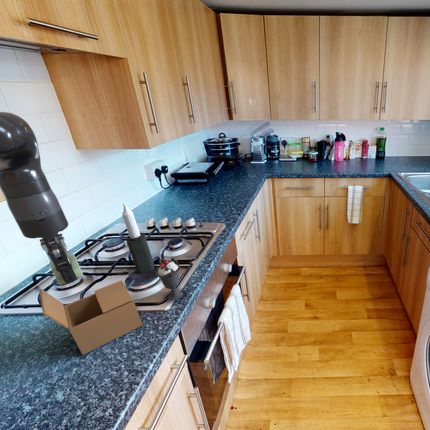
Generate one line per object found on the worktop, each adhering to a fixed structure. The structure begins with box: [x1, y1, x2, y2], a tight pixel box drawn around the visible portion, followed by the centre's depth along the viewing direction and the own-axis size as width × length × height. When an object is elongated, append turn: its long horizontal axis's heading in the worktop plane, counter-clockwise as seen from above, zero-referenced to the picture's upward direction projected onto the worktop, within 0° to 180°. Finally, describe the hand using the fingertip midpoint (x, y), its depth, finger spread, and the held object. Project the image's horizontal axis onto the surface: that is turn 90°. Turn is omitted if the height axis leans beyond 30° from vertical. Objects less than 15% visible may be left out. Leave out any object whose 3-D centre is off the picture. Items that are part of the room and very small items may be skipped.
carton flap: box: [39, 288, 69, 329], centre depth 66 cm, size 6×11×1 cm
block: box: [49, 253, 85, 286], centre depth 68 cm, size 4×4×4 cm
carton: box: [63, 279, 144, 356], centre depth 74 cm, size 13×11×9 cm
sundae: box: [154, 257, 184, 302], centre depth 84 cm, size 7×7×15 cm
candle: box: [122, 203, 155, 275], centre depth 94 cm, size 5×5×25 cm
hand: (69, 275), depth 68 cm, fingers closed on block, 4 cm apart
